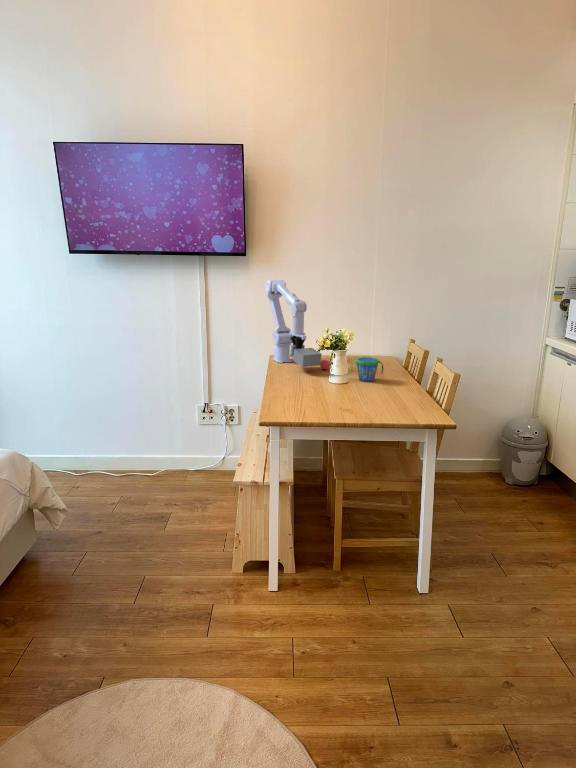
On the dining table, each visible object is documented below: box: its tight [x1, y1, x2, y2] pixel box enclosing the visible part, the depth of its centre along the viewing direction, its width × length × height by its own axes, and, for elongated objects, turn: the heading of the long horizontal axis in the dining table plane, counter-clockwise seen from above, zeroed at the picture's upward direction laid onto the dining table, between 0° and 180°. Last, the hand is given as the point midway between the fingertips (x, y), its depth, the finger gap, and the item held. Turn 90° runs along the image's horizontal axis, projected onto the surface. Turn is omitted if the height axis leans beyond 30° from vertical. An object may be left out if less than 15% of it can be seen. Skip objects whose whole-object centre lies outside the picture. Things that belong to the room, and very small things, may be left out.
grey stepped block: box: [290, 344, 323, 368], centre depth 285 cm, size 17×10×6 cm, turn 27°
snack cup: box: [350, 356, 384, 382], centre depth 270 cm, size 16×10×10 cm
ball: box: [319, 359, 331, 371], centre depth 288 cm, size 5×5×5 cm
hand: (297, 351), depth 291 cm, fingers closed on grey stepped block, 2 cm apart
